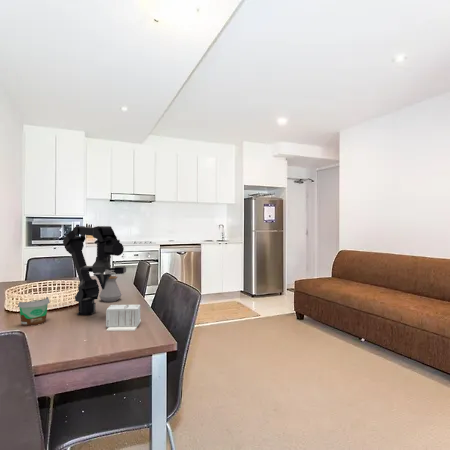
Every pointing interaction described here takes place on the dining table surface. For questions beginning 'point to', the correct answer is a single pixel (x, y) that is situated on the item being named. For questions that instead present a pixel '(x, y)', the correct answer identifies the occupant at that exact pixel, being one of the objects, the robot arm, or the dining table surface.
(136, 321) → the supplement box
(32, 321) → the food container
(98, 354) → the dining table surface
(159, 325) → the dining table surface
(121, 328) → the white flat slab
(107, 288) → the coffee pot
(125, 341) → the dining table surface
